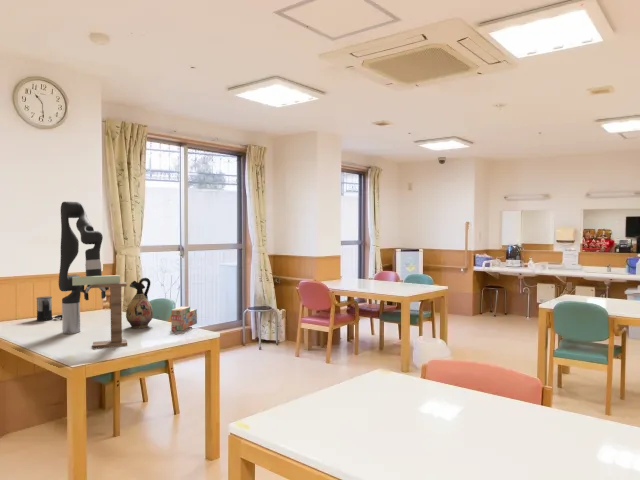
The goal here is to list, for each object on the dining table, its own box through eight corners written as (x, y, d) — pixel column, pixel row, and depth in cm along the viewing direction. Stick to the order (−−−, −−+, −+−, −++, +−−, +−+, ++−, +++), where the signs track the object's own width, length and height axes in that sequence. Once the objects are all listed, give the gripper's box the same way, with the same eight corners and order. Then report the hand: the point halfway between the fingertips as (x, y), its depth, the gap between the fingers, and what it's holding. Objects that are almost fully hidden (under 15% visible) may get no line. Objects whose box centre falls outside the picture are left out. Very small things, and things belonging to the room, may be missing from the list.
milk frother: (33, 320, 323) (33, 297, 322) (58, 316, 336) (57, 294, 335) (44, 322, 315) (44, 299, 314) (69, 318, 328) (68, 296, 327)
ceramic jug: (131, 330, 291) (131, 279, 290) (122, 326, 303) (121, 277, 302) (159, 326, 302) (159, 277, 301) (149, 323, 314) (149, 275, 313)
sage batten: (72, 284, 250) (72, 276, 250) (119, 282, 259) (119, 275, 259) (72, 285, 247) (72, 277, 247) (120, 283, 257) (119, 275, 256)
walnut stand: (93, 344, 258) (92, 283, 257) (126, 341, 264) (125, 281, 263) (93, 348, 249) (92, 285, 248) (127, 345, 256) (126, 283, 255)
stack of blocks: (187, 323, 314) (187, 303, 313) (197, 323, 313) (197, 304, 312) (171, 330, 293) (171, 309, 292) (181, 330, 292) (180, 310, 291)
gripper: (103, 268, 270) (105, 298, 269) (76, 269, 259) (78, 300, 259) (110, 267, 265) (111, 297, 265) (82, 269, 255) (84, 300, 254)
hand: (95, 299), depth 262 cm, fingers open, 8 cm apart
